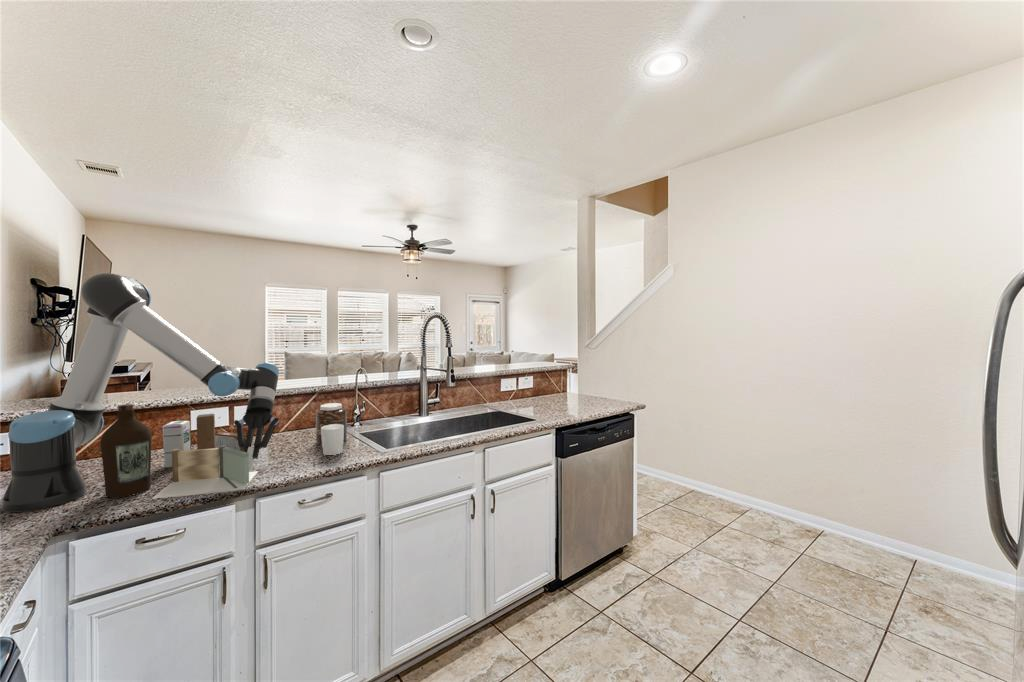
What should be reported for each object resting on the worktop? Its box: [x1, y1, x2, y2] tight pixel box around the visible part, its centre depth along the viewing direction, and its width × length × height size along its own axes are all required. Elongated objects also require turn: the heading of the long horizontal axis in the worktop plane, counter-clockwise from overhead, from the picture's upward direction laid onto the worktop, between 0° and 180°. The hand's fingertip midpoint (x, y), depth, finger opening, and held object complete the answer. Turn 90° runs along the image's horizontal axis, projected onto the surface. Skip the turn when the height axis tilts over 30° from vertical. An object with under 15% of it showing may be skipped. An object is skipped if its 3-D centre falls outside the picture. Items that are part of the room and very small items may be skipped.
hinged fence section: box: [223, 447, 250, 484], centre depth 124 cm, size 12×1×9 cm, turn 61°
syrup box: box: [162, 420, 192, 468], centre depth 140 cm, size 6×6×14 cm
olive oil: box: [100, 403, 153, 499], centre depth 117 cm, size 11×11×25 cm
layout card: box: [151, 470, 259, 500], centre depth 122 cm, size 22×14×1 cm, turn 108°
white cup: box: [321, 424, 344, 456], centre depth 152 cm, size 8×8×10 cm
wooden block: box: [196, 413, 216, 450], centre depth 134 cm, size 9×4×18 cm, turn 123°
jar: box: [315, 402, 348, 446], centre depth 168 cm, size 12×12×15 cm
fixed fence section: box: [171, 445, 226, 482], centre depth 126 cm, size 14×2×10 cm, turn 108°
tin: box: [215, 430, 246, 452], centre depth 149 cm, size 15×3×8 cm, turn 76°
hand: (248, 468), depth 124 cm, fingers closed
